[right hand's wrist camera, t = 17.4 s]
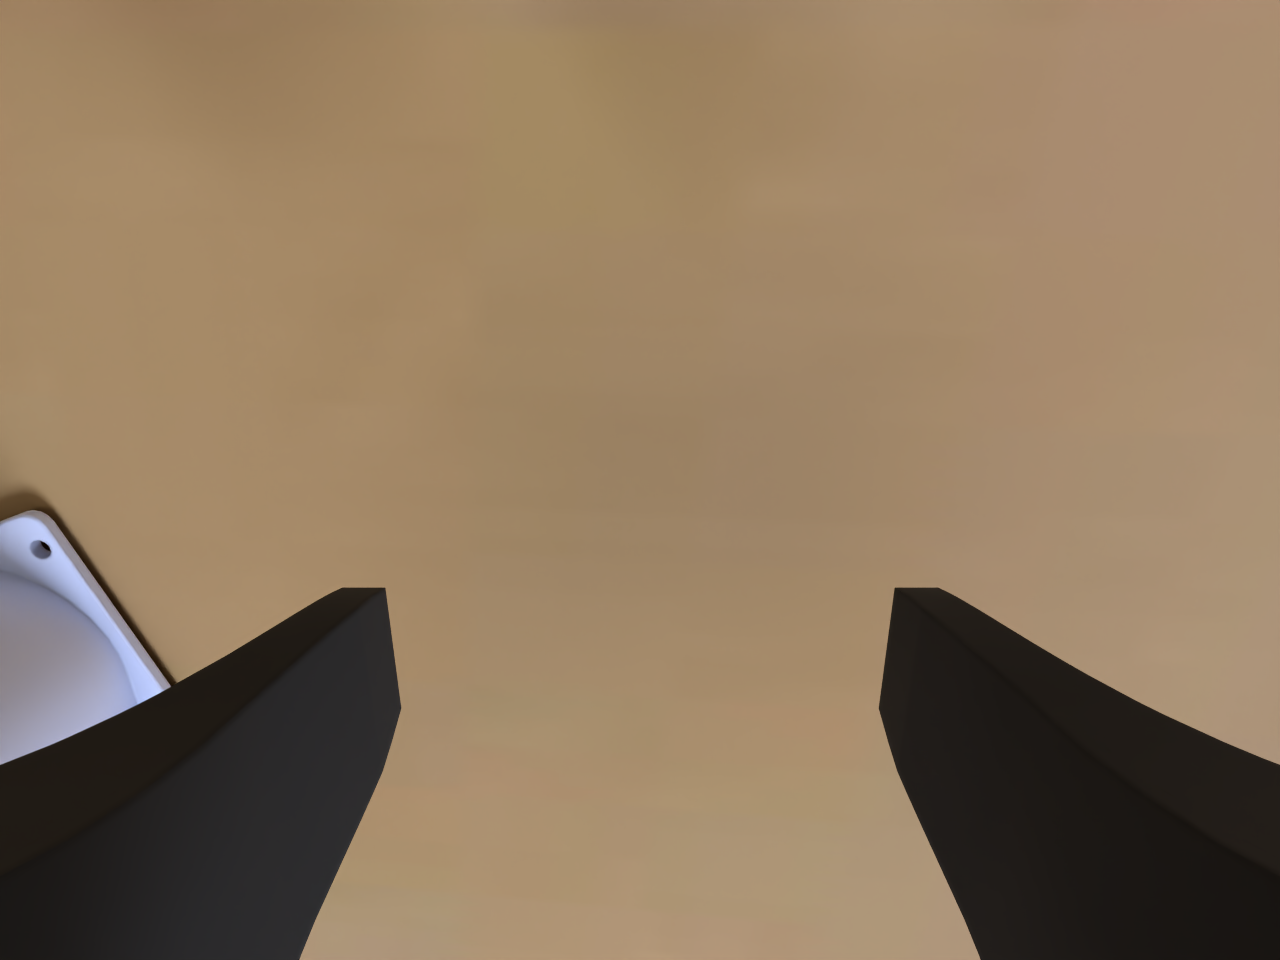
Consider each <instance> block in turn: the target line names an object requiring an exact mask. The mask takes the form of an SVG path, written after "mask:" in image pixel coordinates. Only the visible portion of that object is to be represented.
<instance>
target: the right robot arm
mask: <svg viewBox="0 0 1280 960" xmlns="http://www.w3.org/2000/svg"><path fill="white" fill-rule="evenodd" d="M41 541H42V542H45V543H46V544H47V545H48V546H49V547H50V550H51V551H48V550H46V549H45V548H44V547H43V546H42V544H41ZM400 711H401V703H400V696H399V688H398V681H397V673H396V666H395V658H394V650H393V643H392V635H391V628H390V620H389V613H388V605H387V598H386V590H385V588H341V589H339V590H336V591H334V592H332V593H330V594H328V595H326V596H325V597H323V598H321V599H319V600H318V601H316V602H314V603H312V604H311V605H309V606H307V607H306V608H304V609H302V610H301V611H299V612H297V613H296V614H294V615H292V616H291V617H289V618H288V619H286V620H284V621H283V622H281V623H279V624H278V625H276V626H274V627H273V628H271V629H270V630H268V631H266V632H265V633H263V634H261V635H260V636H258V637H256V638H255V639H253V640H251V641H250V642H248V643H247V644H245V645H243V646H242V647H240V648H238V649H237V650H235V651H233V652H232V653H230V654H228V655H227V656H225V657H223V658H221V659H220V660H218V661H216V662H214V663H212V664H211V665H209V666H207V667H205V668H203V669H202V670H200V671H198V672H196V673H194V674H193V675H191V676H189V677H187V678H186V679H184V680H182V681H180V682H178V683H177V684H175V685H173V686H170V684H169V683H168V681H167V680H166V679H165V677H164V676H163V674H162V673H161V672H160V670H159V669H158V667H157V666H156V665H155V663H154V662H153V660H152V659H151V657H150V656H149V655H148V653H147V652H146V650H145V649H144V648H143V646H142V645H141V643H140V642H139V640H138V639H137V638H136V636H135V635H134V633H133V632H132V631H131V629H130V628H129V626H128V625H127V624H126V622H125V621H124V619H123V618H122V616H121V615H120V614H119V612H118V611H117V609H116V608H115V607H114V605H113V604H112V602H111V601H110V600H109V598H108V597H107V595H106V594H105V592H104V591H103V590H102V588H101V587H100V585H99V584H98V583H97V581H96V580H95V578H94V577H93V575H92V574H91V573H90V571H89V570H88V568H87V567H86V566H85V564H84V563H83V561H82V560H81V559H80V557H79V556H78V554H77V553H76V551H75V550H74V549H73V547H72V546H71V544H70V543H69V542H68V540H67V539H66V537H65V536H64V535H63V533H62V532H61V530H60V529H59V527H58V526H57V525H56V523H55V522H54V521H53V520H52V519H51V518H50V517H49V516H48V515H47V514H45V513H43V512H41V511H36V510H30V511H25V512H23V513H20V514H18V515H15V516H12V517H10V518H7V519H5V520H2V521H0V960H299V959H300V956H301V954H302V951H303V949H304V946H305V944H306V941H307V939H308V936H309V934H310V932H311V929H312V927H313V924H314V922H315V919H316V917H317V915H318V913H319V911H320V908H321V906H322V904H323V902H324V900H325V898H326V895H327V893H328V891H329V889H330V887H331V884H332V882H333V880H334V878H335V876H336V873H337V871H338V869H339V867H340V865H341V863H342V860H343V858H344V856H345V854H346V852H347V849H348V847H349V845H350V843H351V841H352V839H353V836H354V834H355V832H356V830H357V828H358V825H359V823H360V821H361V819H362V817H363V814H364V812H365V810H366V808H367V805H368V803H369V801H370V799H371V797H372V794H373V792H374V790H375V788H376V785H377V783H378V781H379V778H380V776H381V774H382V771H383V768H384V765H385V762H386V759H387V755H388V752H389V749H390V746H391V743H392V739H393V735H394V732H395V728H396V725H397V721H398V718H399V714H400ZM879 711H880V714H881V718H882V721H883V725H884V728H885V732H886V735H887V739H888V743H889V746H890V749H891V752H892V755H893V759H894V762H895V765H896V768H897V771H898V774H899V776H900V778H901V781H902V783H903V785H904V788H905V790H906V792H907V794H908V797H909V799H910V801H911V803H912V805H913V808H914V810H915V812H916V814H917V817H918V819H919V821H920V823H921V825H922V828H923V830H924V832H925V834H926V836H927V839H928V841H929V843H930V845H931V847H932V849H933V852H934V854H935V856H936V858H937V860H938V863H939V865H940V867H941V869H942V871H943V873H944V876H945V878H946V880H947V882H948V884H949V887H950V889H951V891H952V893H953V895H954V898H955V900H956V902H957V904H958V906H959V908H960V911H961V913H962V915H963V917H964V919H965V922H966V924H967V927H968V929H969V932H970V934H971V936H972V939H973V941H974V944H975V946H976V949H977V951H978V954H979V956H980V959H981V960H1280V765H1279V764H1276V763H1273V762H1271V761H1268V760H1266V759H1263V758H1261V757H1258V756H1256V755H1253V754H1251V753H1249V752H1246V751H1244V750H1241V749H1239V748H1237V747H1234V746H1232V745H1229V744H1227V743H1225V742H1222V741H1220V740H1218V739H1216V738H1214V737H1211V736H1209V735H1207V734H1205V733H1203V732H1201V731H1198V730H1196V729H1194V728H1192V727H1190V726H1187V725H1185V724H1183V723H1181V722H1179V721H1176V720H1174V719H1172V718H1170V717H1168V716H1166V715H1163V714H1161V713H1159V712H1157V711H1155V710H1153V709H1151V708H1149V707H1147V706H1145V705H1143V704H1141V703H1139V702H1137V701H1135V700H1133V699H1132V698H1130V697H1128V696H1126V695H1124V694H1122V693H1120V692H1119V691H1117V690H1115V689H1113V688H1111V687H1109V686H1107V685H1105V684H1104V683H1102V682H1100V681H1098V680H1096V679H1094V678H1092V677H1091V676H1089V675H1087V674H1085V673H1083V672H1082V671H1080V670H1078V669H1076V668H1075V667H1073V666H1071V665H1069V664H1068V663H1066V662H1064V661H1063V660H1061V659H1059V658H1057V657H1056V656H1054V655H1052V654H1051V653H1049V652H1047V651H1046V650H1044V649H1042V648H1041V647H1039V646H1037V645H1036V644H1034V643H1032V642H1031V641H1029V640H1027V639H1026V638H1024V637H1022V636H1021V635H1019V634H1017V633H1016V632H1014V631H1013V630H1011V629H1009V628H1008V627H1006V626H1004V625H1003V624H1001V623H999V622H998V621H996V620H995V619H993V618H991V617H990V616H988V615H986V614H985V613H983V612H981V611H980V610H978V609H977V608H975V607H973V606H971V605H970V604H968V603H966V602H965V601H963V600H961V599H959V598H958V597H956V596H954V595H952V594H950V593H948V592H946V591H944V590H942V589H940V588H895V590H894V598H893V605H892V613H891V620H890V628H889V635H888V643H887V650H886V658H885V666H884V673H883V681H882V688H881V696H880V703H879Z"/></svg>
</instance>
